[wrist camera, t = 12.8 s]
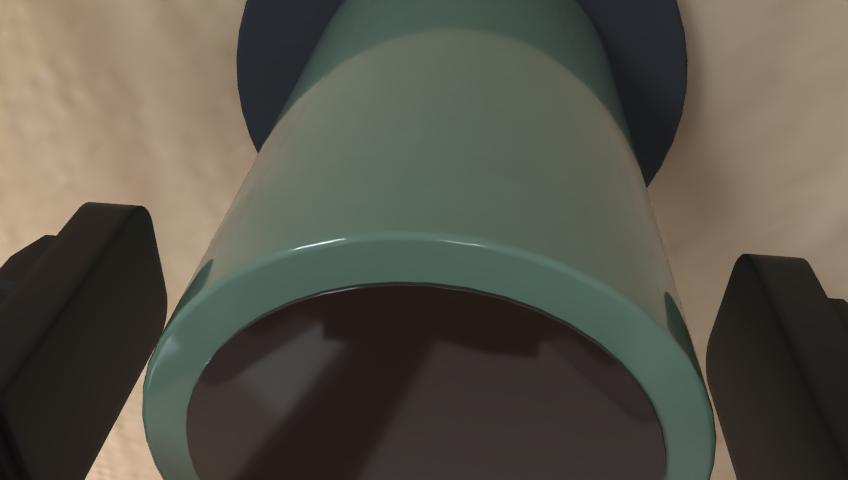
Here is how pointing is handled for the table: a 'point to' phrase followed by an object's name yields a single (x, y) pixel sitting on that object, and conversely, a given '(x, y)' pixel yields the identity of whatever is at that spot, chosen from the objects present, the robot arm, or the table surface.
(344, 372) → the cup
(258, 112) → the coaster
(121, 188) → the table surface
